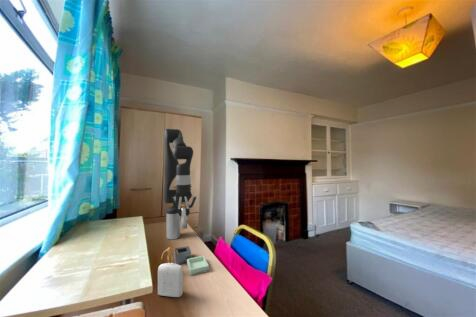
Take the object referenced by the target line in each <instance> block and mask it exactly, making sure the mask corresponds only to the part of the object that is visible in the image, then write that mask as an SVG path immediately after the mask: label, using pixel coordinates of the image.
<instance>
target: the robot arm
mask: <svg viewBox="0 0 476 317" xmlns="http://www.w3.org/2000/svg"><path fill="white" fill-rule="evenodd" d="M163 142H164V163H163V164H164V168H163V169H164V171H163V172H164V186H163V188H164V189H163V202H164V204H172V205H171V206H169V207H167V208H166V210H165V213H166V214H165V215H166V216H165V219H166V222H165V223H166V224H165V225H166V227H165V228H166V229H165V230H166V239H167V240H177V239H178V238H180V237H181V206H180V205H181V203H186V205H187V206H186V207H187V209H186V213H187V217H188V216H189V215H190V212H191V209H192V208H193V207H194V205H195V202H196V200H197V196H196V195H195V196H194V195H192V184H191V183H192V178H191V164H192V161H193V160H192V159H193V156H194V150H193V147H191V146H187V144H186V143H185V142H184V136H183V133H182V131H181V130H180V129H178V128H177V129H175V128H165V129H164V132H163ZM170 144H172V148H173V149H172V148H171V146H170ZM178 160H185V162H183V163H180V162H179V161H178ZM175 178H176V179H175ZM174 180H175V184H176V185H175V187H176V188H175V189H170V187H171V185H172V183H173V182H174ZM190 200H192V201H191V203H190Z"/></svg>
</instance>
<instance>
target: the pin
mask: <svg viewBox="0 0 476 317" xmlns="http://www.w3.org/2000/svg"><path fill="white" fill-rule="evenodd" d="M180 206H181V216H180V229H181V230H185V229H188V216H187V213H186V209H187V207H186V206H187V205H186V203H184V202H183V203H181V205H180Z"/></svg>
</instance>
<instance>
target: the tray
mask: <svg viewBox="0 0 476 317" xmlns="http://www.w3.org/2000/svg"><path fill="white" fill-rule="evenodd" d="M186 265H187V268H188V272H189V275H190V276H193V275H197V274H198V275H199V274H201V273H205V272H209V271H210V264H209V263H208V261H207V259H206V257H205V255H199V256H195V257H191V258H189V259H187V262H186Z"/></svg>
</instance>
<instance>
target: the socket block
mask: <svg viewBox="0 0 476 317" xmlns="http://www.w3.org/2000/svg"><path fill="white" fill-rule="evenodd" d="M173 249H176V250H177V252H178V253H179V256H178V253H177V252H176V250H173V259H174V264H178V265H181V264H185V263H186V264H187V259H189V258H192V250H191V249H190V246H189V245H186V246H181V247H176V248H174V247H173Z"/></svg>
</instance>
